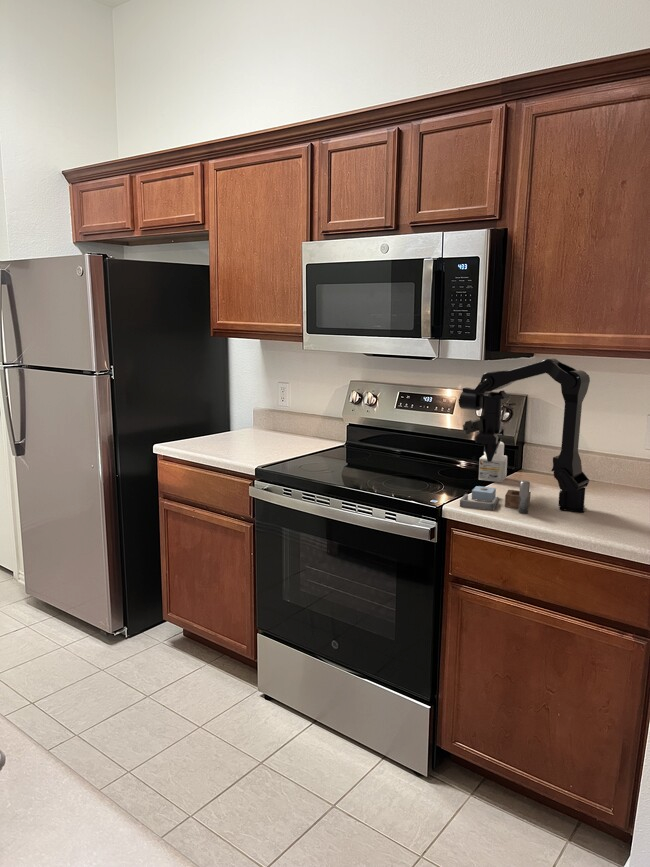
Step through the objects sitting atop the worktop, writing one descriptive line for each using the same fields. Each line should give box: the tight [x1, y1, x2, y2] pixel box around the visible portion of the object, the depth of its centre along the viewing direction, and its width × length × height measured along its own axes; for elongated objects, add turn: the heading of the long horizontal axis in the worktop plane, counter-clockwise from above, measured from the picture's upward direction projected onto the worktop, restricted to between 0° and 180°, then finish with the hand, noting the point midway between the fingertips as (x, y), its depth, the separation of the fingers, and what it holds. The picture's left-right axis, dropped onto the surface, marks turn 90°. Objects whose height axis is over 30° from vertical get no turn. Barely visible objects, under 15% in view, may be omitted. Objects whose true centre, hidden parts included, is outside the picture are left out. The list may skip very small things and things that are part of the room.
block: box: [471, 485, 497, 502], centre depth 201 cm, size 6×6×3 cm
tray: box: [459, 493, 499, 511], centre depth 194 cm, size 10×8×2 cm
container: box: [478, 441, 508, 483], centre depth 223 cm, size 8×8×13 cm
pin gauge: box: [518, 480, 531, 515], centre depth 186 cm, size 3×3×9 cm
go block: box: [504, 489, 531, 509], centre depth 194 cm, size 6×6×4 cm
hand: (489, 461), depth 206 cm, fingers closed
